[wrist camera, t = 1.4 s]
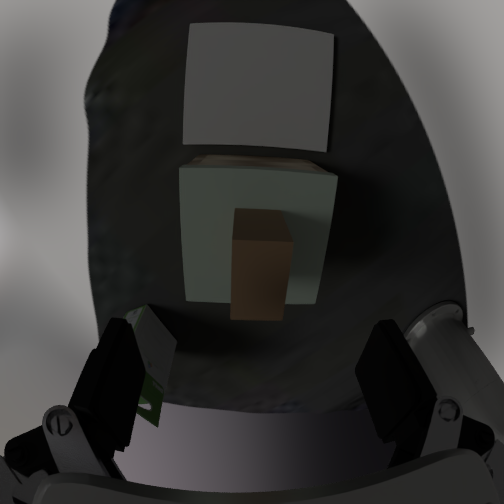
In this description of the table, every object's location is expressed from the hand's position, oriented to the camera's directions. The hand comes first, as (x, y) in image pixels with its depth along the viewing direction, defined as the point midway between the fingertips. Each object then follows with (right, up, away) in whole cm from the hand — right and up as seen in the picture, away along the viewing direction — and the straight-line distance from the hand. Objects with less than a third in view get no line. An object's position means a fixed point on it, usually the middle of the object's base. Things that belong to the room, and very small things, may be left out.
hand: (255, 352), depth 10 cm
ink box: (-13, -6, +23) cm, 27 cm away
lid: (0, +5, +10) cm, 11 cm away
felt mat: (0, +19, +11) cm, 22 cm away
